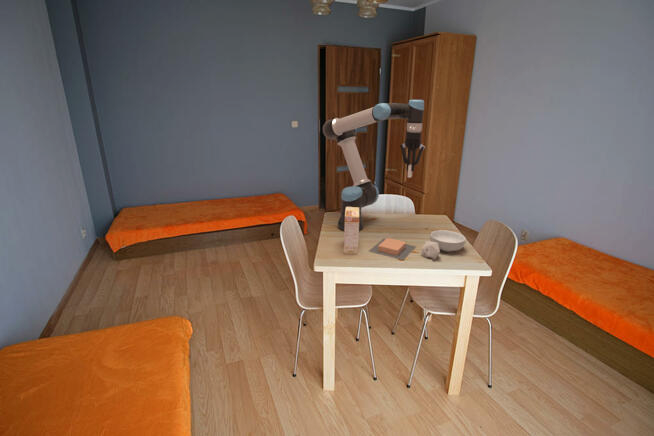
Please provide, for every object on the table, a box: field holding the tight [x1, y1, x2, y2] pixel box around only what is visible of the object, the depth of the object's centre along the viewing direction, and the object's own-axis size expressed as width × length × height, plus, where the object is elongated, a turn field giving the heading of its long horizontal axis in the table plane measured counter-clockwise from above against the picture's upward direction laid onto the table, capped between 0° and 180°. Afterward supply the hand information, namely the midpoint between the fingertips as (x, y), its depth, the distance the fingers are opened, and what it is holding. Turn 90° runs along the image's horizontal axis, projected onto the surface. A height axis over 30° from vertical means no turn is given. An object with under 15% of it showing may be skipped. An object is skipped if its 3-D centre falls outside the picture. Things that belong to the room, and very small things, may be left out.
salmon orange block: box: [378, 237, 407, 256], centre depth 172 cm, size 10×3×12 cm
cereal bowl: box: [429, 229, 467, 253], centre depth 175 cm, size 17×17×7 cm
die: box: [421, 240, 441, 260], centre depth 165 cm, size 8×9×10 cm
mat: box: [368, 238, 417, 261], centre depth 173 cm, size 18×19×1 cm
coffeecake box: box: [343, 207, 360, 255], centre depth 172 cm, size 15×7×20 cm, turn 175°
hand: (409, 177), depth 185 cm, fingers closed
